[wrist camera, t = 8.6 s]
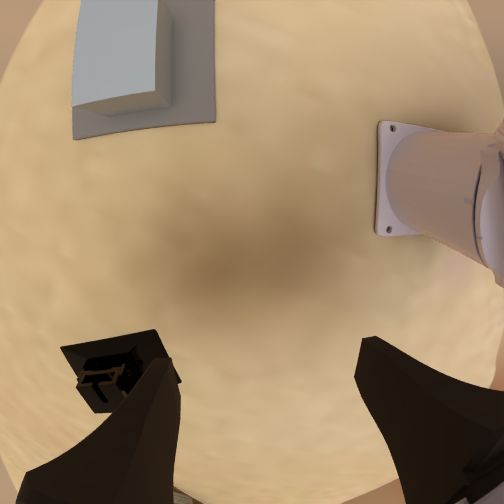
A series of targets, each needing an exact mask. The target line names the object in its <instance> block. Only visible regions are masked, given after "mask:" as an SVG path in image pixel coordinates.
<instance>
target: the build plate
mask: <svg viewBox="0 0 504 504" xmlns="http://www.w3.org/2000/svg"><path fill="white" fill-rule="evenodd" d="M60 349H61V351H62V352H63V354H64V356H65V357H66V359H67V361H68V362H69V364H70V366H71V367H72V369H73V371H74V372H75V374H76V375H77V377H78V378H77V381H78V384H77V386H76V388H77V390H78V391H79V393H80V394H81V396H82V397H83V398H84V400H85V401H86V402H87V404H88V405H89V407H90V408H91V409H92V411H93V412H94V413H113V412H114V411H115V409H116V408H117V407H118V406H119V405H120V404H121V402H122V401H123V400H124V399H125V398H126V397H127V395H128V394H129V393H130V391H131V390H132V389H133V388H134V386H135V385H136V384H137V382H138V381H139V380H140V378H141V377H142V375H143V374H144V373H145V371H146V370H147V368H148V367H149V365H150V364H151V362H152V361H153V360H154V359H155V358H169V356H168V354H167V352H166V350H165V348H164V346H163V344H162V342H161V339H160V337H159V335H158V333H157V331H156V330H155V329H152V330H147V331H142V332H138V333H133V334H128V335H123V336H118V337H113V338H107V339H102V340H97V341H91V342H86V343H80V344H74V345H68V346H62V347H60ZM173 367H174V366H173ZM174 371H175V375H176V380H177V384H179V383H181V382H182V381H181V379H180V377H179V376H178V374H177V372H176V370H175V368H174Z"/></svg>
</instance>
